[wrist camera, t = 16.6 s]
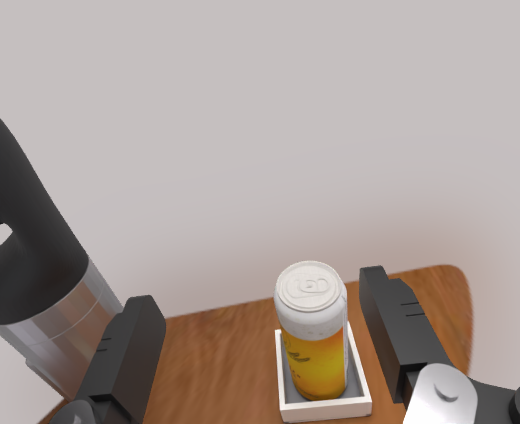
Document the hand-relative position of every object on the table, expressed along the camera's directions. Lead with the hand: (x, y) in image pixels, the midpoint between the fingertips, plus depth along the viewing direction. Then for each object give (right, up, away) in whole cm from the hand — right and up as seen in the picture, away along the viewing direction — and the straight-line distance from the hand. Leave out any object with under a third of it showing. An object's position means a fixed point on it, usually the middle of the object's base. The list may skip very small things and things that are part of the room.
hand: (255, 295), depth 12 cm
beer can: (+7, -15, +22) cm, 27 cm away
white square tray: (+7, -15, +22) cm, 28 cm away
